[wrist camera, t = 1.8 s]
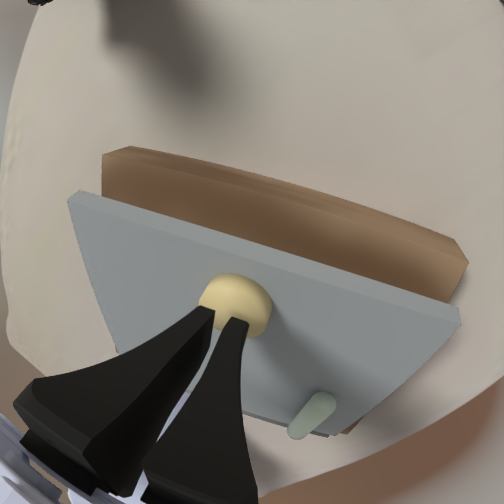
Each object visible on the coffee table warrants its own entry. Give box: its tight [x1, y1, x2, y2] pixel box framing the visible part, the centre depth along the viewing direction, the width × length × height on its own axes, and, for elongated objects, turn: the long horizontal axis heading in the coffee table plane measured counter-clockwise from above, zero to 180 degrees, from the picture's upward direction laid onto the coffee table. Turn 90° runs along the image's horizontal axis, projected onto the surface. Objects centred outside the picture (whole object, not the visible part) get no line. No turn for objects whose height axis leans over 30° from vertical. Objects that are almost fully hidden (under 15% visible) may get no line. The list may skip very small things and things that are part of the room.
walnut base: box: [102, 146, 469, 434], centre depth 21 cm, size 18×22×3 cm
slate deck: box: [67, 190, 461, 440], centre depth 17 cm, size 17×19×3 cm
